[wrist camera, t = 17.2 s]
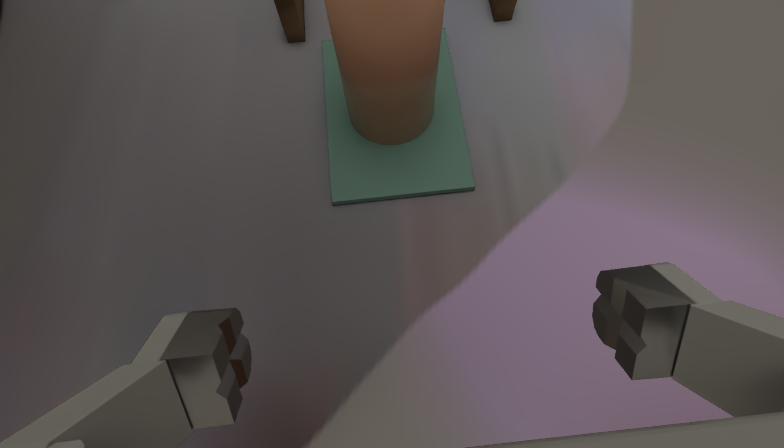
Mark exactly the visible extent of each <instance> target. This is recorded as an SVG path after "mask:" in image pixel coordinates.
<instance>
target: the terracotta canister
mask: <svg viewBox="0 0 784 448" xmlns="http://www.w3.org/2000/svg"><path fill="white" fill-rule="evenodd" d="M324 1H325V6H326V11H327V16H328V20H329V25H330V30H331V34H332V39H333V44H334V48H335V53H336V58H337V62H338V67H339V72H340V76H341V81H342V86H343V90H344V95H345V100H346V104H347V109H348V114H349V118H350V121H351V123H352V125H353V127H354V128H355V130H356V131H357V132H358V133H359V134H360V135H361V136H363V137H364V138H366V139H367V140H369V141H372V142H374V143H377V144H382V145H398V144H403V143H407V142H409V141H412V140H413V139H415V138H417V137H418V136H420V135H421V134H422V133H423V132H424V131H425V130H426V129H427V127H428V126H429V124H430V123H431V120H432V118H433V114H434V105H435V94H436V84H437V74H438V64H439V53H440V43H441V33H442V23H443V13H444V2H445V0H324Z"/></svg>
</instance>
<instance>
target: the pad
mask: <svg viewBox="0 0 784 448" xmlns="http://www.w3.org/2000/svg"><path fill="white" fill-rule="evenodd" d="M322 52H323V69H324V85H325V101H326V117H327V134H328V150H329V166H330V182H331V199H332V204H333V205H341V204H350V203H359V202H369V201H378V200H387V199H396V198H406V197H415V196H424V195H434V194H443V193H452V192H462V191H471V190H474V189H475V183H474V178H473V173H472V167H471V162H470V157H469V152H468V147H467V141H466V136H465V131H464V126H463V120H462V115H461V110H460V105H459V100H458V94H457V89H456V84H455V79H454V74H453V68H452V63H451V58H450V53H449V47H448V42H447V37H446V32H445V28H442V33H441V43H440V53H439V64H438V74H437V84H436V94H435V105H434V114H433V118H432V120H431V123H430V124H429V126H428V127H427V129H426V130H425V131H424V132H423V133H422V134H421V135H420V136H418V137H417V138H415V139H413V140H412V141H409V142H407V143H403V144H398V145H382V144H377V143H374V142H372V141H369V140H367V139H366V138H364V137H363V136H361V135H360V134H359V133H358V132H357V131H356V130H355V128H354V127H353V125H352V123H351V121H350V118H349V114H348V109H347V104H346V100H345V95H344V90H343V86H342V81H341V76H340V72H339V67H338V62H337V58H336V53H335V48H334V44H333V40H324V41H322Z"/></svg>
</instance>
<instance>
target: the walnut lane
mask: <svg viewBox="0 0 784 448" xmlns="http://www.w3.org/2000/svg"><path fill="white" fill-rule="evenodd" d="M274 2H275V5H276V8H277V11H278V14H279V17H280V20H281V23H282V26H283V29H284V32H285V35H286V38H287V41H288V43H289V42H299V41H305V22H304V0H274ZM489 2H490V6H491V10H492V14H493V18H494V21H503V20H511V19H512V16H513V12H514V9H515V5H516V2H517V0H489Z"/></svg>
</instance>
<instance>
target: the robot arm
mask: <svg viewBox="0 0 784 448" xmlns="http://www.w3.org/2000/svg"><path fill="white" fill-rule="evenodd" d="M596 288H597V289H598V291H599V292H600V293H601V295H600V296H599V298H598V299H597V300H596V301H595V302H594V304H593V313H592V317H593V322H594V328H595V330H596V332H597V334H598V336H599V338H600V339H601V340H602V342H603V343H604V344H605V345H607V346H609V347H611V348H613V349H615V350H616V353H615V359H616V360H617V362H618V363H619V364H620V365H621V367H622V368H623V369H624V371H625V372H626V373H627V374H628V376H629V377H630V378H631V380H640V379H652V378H664V377H672V379H673V380H675V381H677V382H678V383H680V384H682V385H683V386H685V387H686V388H688V389H690V390H691V391H693V392H695V393H696V394H698V395H699V396H701V397H703V398H704V399H706V400H708V401H710V402H711V403H713V404H714V405H716V406H718V407H719V408H721V409H722V410H724V411H726V412H727V413H729V414H730V415H732V416H734V417H733V418H725V419H717V420H707V421H698V422H689V423H680V424H671V425H662V426H653V427H644V428H635V429H626V430H617V431H609V432H600V433H591V434H582V435H573V436H565V437H555V438H546V439H537V440H528V441H520V442H512V443H502V444H494V445H485V446H477V447H467V448H784V318H782V317H779V316H776V315H772V314H769V313H766V312H763V311H760V310H757V309H754V308H751V307H748V306H745V305H742V304H739V303H736V302H733V301H722V300H720V299H719V298H718V297H717V296H715V295H714V294H713V293H711V292H710V291H709V290H707V289H706V288H704V287H703V286H702V285H701V284H699V283H698V282H697V281H695V280H694V279H693V278H691V277H690V276H689V275H687V274H686V273H684V272H683V271H682V270H681V269H679V268H678V267H677V266H676V265H674V264H671V263H668V262H665V263H657V264H650V265H644V266H638V267H629V268H621V269H613V270H605V271H600V273H599V275H598V277H597V282H596ZM243 324H244V323H243V320H242V316H241V313H240V311H239V310H238V309H237V308H227V309H215V310H203V311H192V312H180V313H171V314H167V315H165V316H163V318H162V319H161V321H160V322H159V323H158V325H157V326H156V328H155V329H154V331H153V332H152V334H151V335H150V337H149V338H148V340H147V341H146V342H145V344H144V345H143V347H142V348H141V350H140V351H139V353H138V354H137V356H136V357H135V359H134V360H133V361H132V363H131V364H125V365H122V366H120V367H119V368H117V369H116V370H114V371H113V372H111V373H109V374H108V375H106V376H105V377H103V378H101V379H100V380H98V381H97V382H95V383H94V384H92V385H90V386H89V387H87V388H86V389H84V390H83V391H81V392H79V393H78V394H76V395H75V396H73V397H71V398H70V399H68V400H67V401H65V402H64V403H62V404H60V405H59V406H57V407H56V408H54V409H53V410H51V411H49V412H48V413H46V414H45V415H43V416H41V417H40V418H38V419H37V420H35V421H34V422H32V423H30V424H29V425H27V426H26V427H24V428H23V429H21V430H19V431H18V432H16V433H15V434H13V435H12V436H10V437H8V438H7V439H5V440H4V441H2V442H0V448H178V447H179V446H180V445H181V444H182V443H183V442H184V440H185V439H186V438H187V437H188V436H189V435H190V434H191V433H192V430H194V429H201V428H208V427H215V426H222V425H230V424H234V423H235V420H236V417H237V414H238V411H239V408H240V405H241V402H242V395H241V391H240V389H241V388H242V387H243V386H244V385H245V384H246V383H247V382H248V379H249V376H250V372H251V360H252V358H251V349H250V345H249V341H248V339H247V338H245V337H244V336H243V335H242V334H241V333H240V332H241V329H242V327H243Z"/></svg>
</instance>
